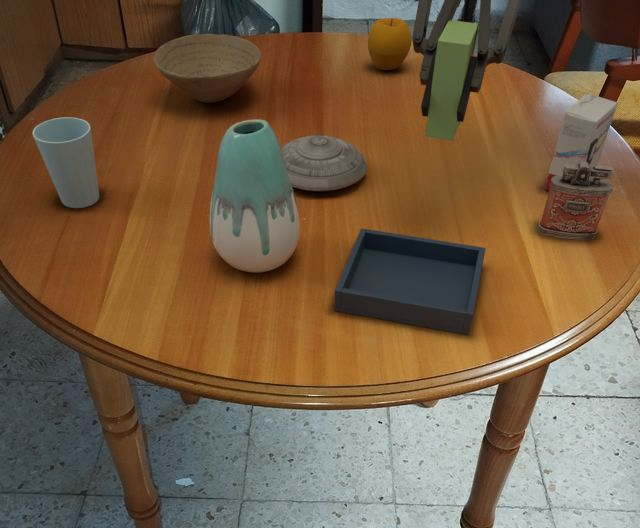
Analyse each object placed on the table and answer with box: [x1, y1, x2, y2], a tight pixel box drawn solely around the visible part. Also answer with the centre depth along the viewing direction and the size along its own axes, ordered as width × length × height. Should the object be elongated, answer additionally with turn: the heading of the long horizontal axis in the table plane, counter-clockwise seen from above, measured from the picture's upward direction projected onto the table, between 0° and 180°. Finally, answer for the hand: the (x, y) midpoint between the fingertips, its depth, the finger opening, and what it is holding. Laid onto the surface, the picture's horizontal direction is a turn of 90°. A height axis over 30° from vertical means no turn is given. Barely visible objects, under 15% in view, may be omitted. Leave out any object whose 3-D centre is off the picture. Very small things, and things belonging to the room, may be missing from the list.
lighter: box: [536, 161, 614, 240], centre depth 92 cm, size 8×3×10 cm, turn 80°
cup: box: [32, 116, 100, 209], centre depth 96 cm, size 8×8×10 cm
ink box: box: [544, 93, 618, 192], centre depth 100 cm, size 9×5×12 cm, turn 143°
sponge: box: [424, 19, 479, 142], centre depth 82 cm, size 4×7×11 cm, turn 163°
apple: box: [367, 17, 413, 71], centre depth 130 cm, size 9×8×9 cm
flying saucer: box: [281, 134, 368, 192], centre depth 104 cm, size 15×15×6 cm
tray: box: [333, 227, 487, 336], centre depth 85 cm, size 17×14×3 cm
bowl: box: [153, 33, 262, 104], centre depth 121 cm, size 18×18×8 cm
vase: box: [209, 118, 301, 274], centre depth 84 cm, size 12×12×18 cm
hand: (442, 114), depth 81 cm, fingers closed on sponge, 4 cm apart
